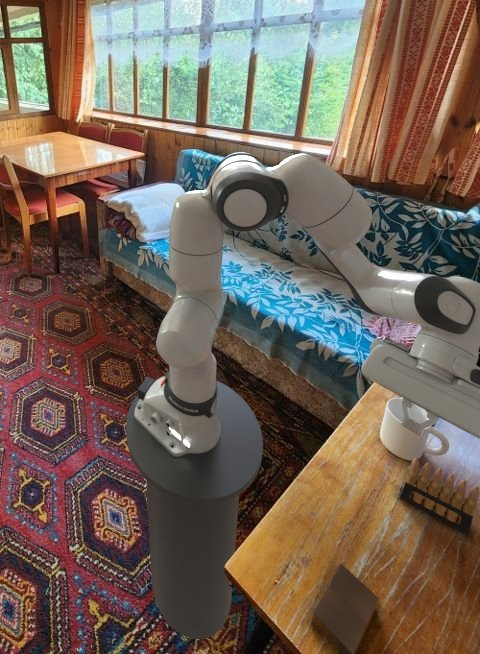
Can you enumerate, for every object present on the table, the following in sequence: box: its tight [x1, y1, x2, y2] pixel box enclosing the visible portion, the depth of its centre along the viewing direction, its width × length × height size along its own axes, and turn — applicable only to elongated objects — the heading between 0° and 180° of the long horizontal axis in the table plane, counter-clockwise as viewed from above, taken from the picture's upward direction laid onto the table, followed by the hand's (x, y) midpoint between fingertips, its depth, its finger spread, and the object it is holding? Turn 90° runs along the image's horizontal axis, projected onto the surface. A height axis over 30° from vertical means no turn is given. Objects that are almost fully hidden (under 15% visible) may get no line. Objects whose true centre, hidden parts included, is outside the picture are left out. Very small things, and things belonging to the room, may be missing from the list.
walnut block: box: [311, 563, 380, 654], centre depth 61 cm, size 6×3×10 cm
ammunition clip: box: [398, 457, 480, 535], centre depth 72 cm, size 11×2×12 cm, turn 51°
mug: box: [379, 397, 450, 461], centre depth 84 cm, size 12×8×10 cm
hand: (411, 430), depth 66 cm, fingers closed
